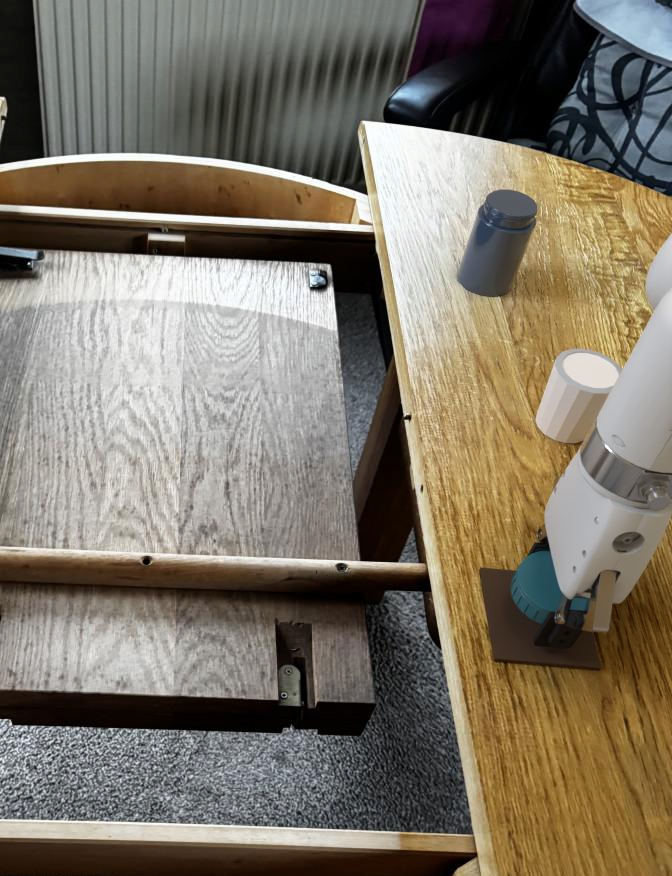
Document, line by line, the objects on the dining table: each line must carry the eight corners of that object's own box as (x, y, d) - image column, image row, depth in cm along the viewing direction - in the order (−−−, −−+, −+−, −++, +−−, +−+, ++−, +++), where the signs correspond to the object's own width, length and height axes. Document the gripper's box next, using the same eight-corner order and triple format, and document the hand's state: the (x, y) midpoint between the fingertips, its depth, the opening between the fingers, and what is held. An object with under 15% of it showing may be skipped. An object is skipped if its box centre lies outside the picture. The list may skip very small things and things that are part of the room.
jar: (507, 266, 113) (536, 189, 105) (515, 299, 109) (546, 221, 101) (453, 261, 112) (479, 184, 105) (460, 293, 109) (486, 215, 101)
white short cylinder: (531, 442, 94) (558, 386, 88) (526, 398, 98) (552, 342, 92) (599, 452, 94) (630, 397, 88) (591, 407, 98) (621, 352, 92)
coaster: (577, 578, 84) (579, 575, 83) (599, 670, 78) (601, 667, 78) (478, 570, 83) (480, 567, 83) (493, 661, 78) (495, 658, 77)
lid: (584, 566, 80) (593, 552, 79) (600, 632, 76) (610, 618, 75) (504, 561, 80) (511, 546, 79) (516, 626, 76) (523, 612, 75)
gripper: (725, 553, 60) (607, 698, 75) (661, 380, 70) (568, 537, 85) (611, 543, 60) (515, 690, 75) (563, 371, 70) (487, 530, 85)
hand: (544, 608), depth 80 cm, fingers closed on lid, 6 cm apart
